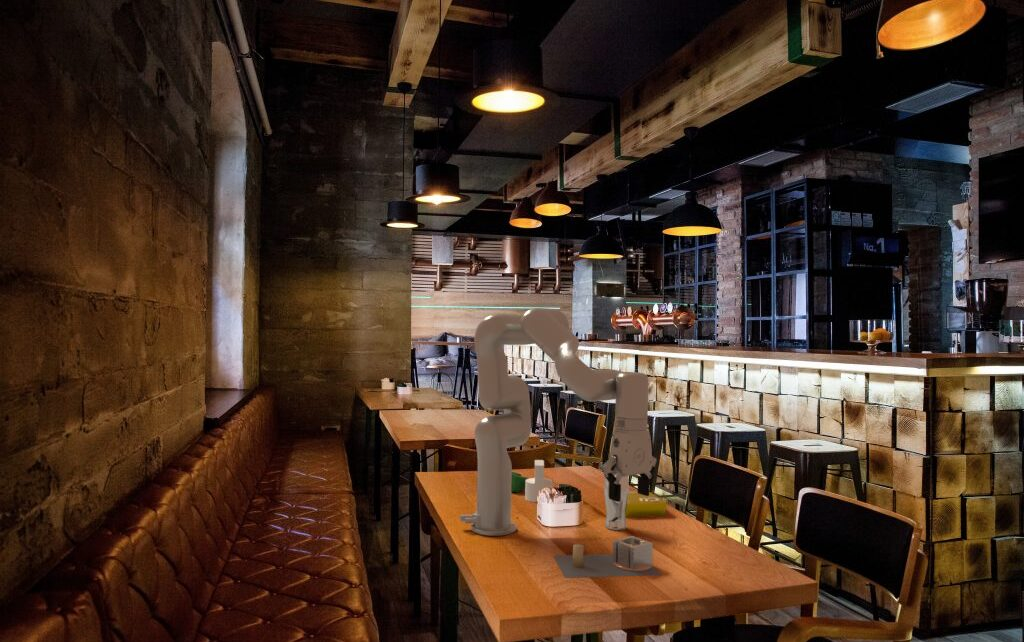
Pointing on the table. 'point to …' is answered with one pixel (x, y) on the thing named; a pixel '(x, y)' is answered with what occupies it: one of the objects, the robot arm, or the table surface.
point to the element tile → (644, 505)
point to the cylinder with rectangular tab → (536, 482)
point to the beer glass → (616, 506)
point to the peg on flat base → (629, 568)
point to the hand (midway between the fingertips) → (629, 497)
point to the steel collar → (632, 552)
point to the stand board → (594, 565)
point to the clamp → (517, 482)
